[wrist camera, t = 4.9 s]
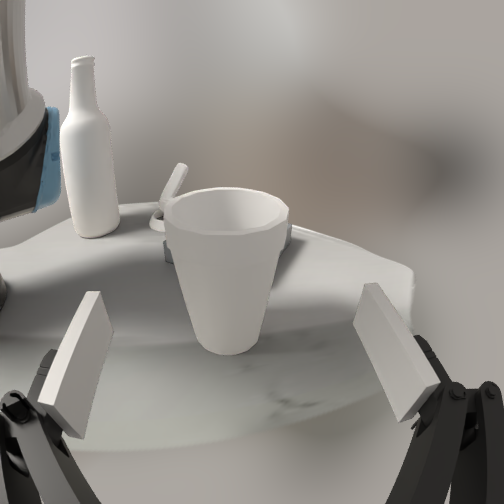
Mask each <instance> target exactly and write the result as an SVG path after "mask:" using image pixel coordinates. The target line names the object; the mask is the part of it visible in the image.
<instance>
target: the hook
mask: <svg viewBox="0 0 504 504" xmlns="http://www.w3.org/2000/svg"><path fill="white" fill-rule="evenodd" d="M187 172H188V167H187V166H186V165H185V164H182V163H179V164H177V166H176V168H175V169H174V171H173V173H172V175H171V177H170V179H169V181H168V183H167V185H166V186H165V188H164V191H163V192H162V195H161V198H160V201H159V208H160V209H159V210H157V211H156V212H154V213H153V215H152V217H151V219H150V224H149V225H150V227H151V228H152V229H154V230H156V231H161V232H165V226H164V221H163V220H158V219H156V218H158V217H160V216H164V206H166V205H167V204H168V203H169V202H171V201H172V200H173V199H174V198H175V195H176V193H177V191H178V189H179V187H180V185H181V184H182V182H183V180H184V178H185V176H186V174H187Z"/></svg>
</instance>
